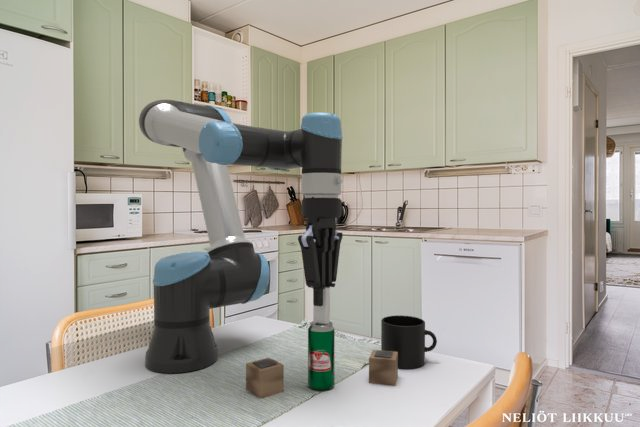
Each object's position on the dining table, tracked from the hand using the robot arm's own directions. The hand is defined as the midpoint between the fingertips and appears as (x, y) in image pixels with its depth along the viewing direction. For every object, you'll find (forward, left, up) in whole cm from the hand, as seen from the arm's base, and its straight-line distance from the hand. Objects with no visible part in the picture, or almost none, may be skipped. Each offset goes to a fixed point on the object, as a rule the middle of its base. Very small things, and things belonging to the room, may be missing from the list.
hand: (321, 321), depth 83 cm
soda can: (0, 0, -13) cm, 13 cm away
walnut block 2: (+9, +9, -12) cm, 18 cm away
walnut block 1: (-8, -7, -12) cm, 16 cm away
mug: (+10, +21, -13) cm, 26 cm away
